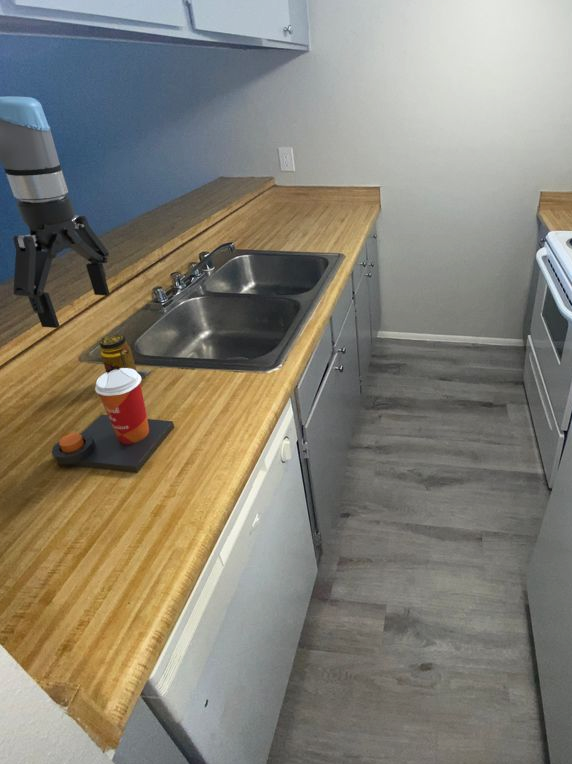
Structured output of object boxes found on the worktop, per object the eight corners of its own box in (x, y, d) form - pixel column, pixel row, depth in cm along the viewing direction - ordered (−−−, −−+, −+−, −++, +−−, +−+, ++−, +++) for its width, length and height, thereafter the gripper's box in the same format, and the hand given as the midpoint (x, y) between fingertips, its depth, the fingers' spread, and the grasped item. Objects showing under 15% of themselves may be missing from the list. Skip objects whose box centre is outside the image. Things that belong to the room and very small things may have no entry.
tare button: (57, 452, 89) (54, 445, 88) (71, 439, 92) (68, 432, 91) (75, 454, 88) (72, 446, 87) (88, 440, 91) (86, 433, 91)
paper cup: (108, 432, 96) (89, 375, 89) (149, 417, 100) (134, 362, 94) (117, 454, 91) (98, 395, 84) (159, 437, 95) (144, 380, 89)
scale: (49, 469, 89) (43, 455, 87) (100, 420, 101) (95, 407, 100) (133, 478, 88) (129, 464, 86) (174, 427, 100) (171, 414, 99)
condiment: (101, 389, 111) (87, 345, 105) (123, 369, 118) (111, 327, 113) (132, 391, 111) (119, 347, 105) (151, 371, 118) (140, 329, 113)
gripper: (74, 181, 91) (103, 282, 101) (-49, 215, 69) (3, 340, 79) (111, 183, 90) (136, 284, 100) (-1, 218, 68) (46, 344, 78)
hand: (78, 309), depth 89 cm, fingers open, 13 cm apart
